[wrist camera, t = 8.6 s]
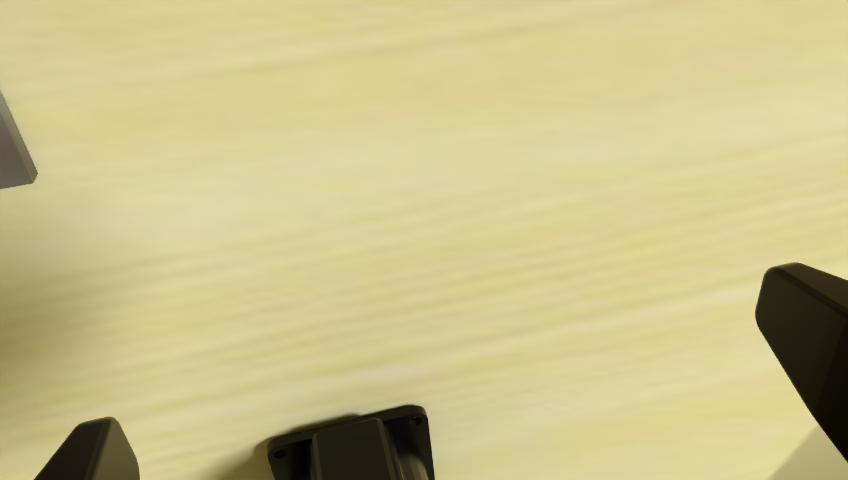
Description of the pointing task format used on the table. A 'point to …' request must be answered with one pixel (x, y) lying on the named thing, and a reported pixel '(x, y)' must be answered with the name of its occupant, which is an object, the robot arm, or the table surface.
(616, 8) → the table surface
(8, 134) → the socket
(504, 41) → the table surface
